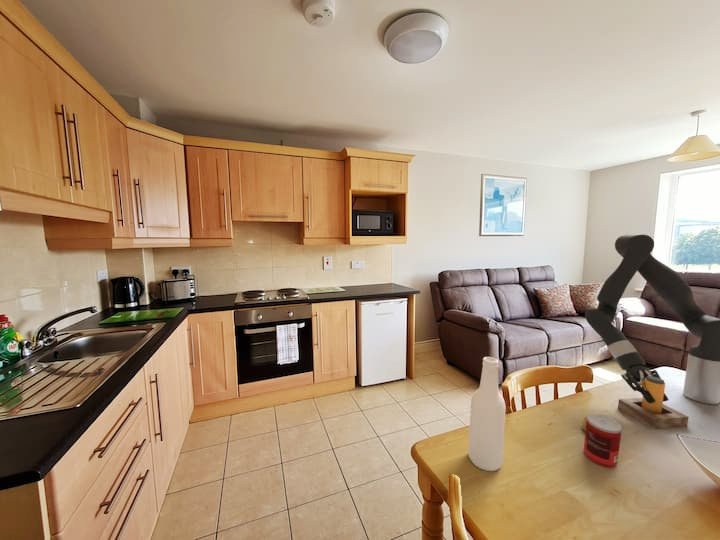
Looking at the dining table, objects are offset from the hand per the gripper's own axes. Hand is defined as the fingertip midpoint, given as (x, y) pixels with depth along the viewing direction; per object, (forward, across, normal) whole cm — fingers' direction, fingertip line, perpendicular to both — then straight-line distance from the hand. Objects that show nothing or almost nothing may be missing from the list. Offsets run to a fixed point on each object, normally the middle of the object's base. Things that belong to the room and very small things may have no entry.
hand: (658, 401), depth 101 cm
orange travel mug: (+3, 0, +5) cm, 6 cm away
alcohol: (+9, -71, 0) cm, 72 cm away
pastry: (+6, -27, +4) cm, 28 cm away
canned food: (+13, -37, -3) cm, 40 cm away
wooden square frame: (+4, 0, +6) cm, 7 cm away
